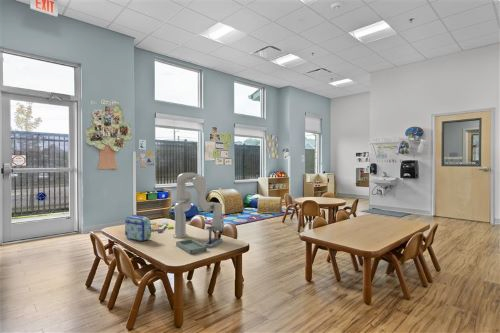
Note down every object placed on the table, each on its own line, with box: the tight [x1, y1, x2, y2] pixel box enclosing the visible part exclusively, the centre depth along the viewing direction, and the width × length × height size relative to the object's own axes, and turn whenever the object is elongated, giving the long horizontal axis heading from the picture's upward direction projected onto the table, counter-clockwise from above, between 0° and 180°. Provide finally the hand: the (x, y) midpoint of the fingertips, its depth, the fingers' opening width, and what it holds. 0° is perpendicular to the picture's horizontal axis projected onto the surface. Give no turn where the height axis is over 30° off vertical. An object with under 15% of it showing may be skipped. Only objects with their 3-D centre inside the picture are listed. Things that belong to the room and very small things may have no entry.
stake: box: [206, 225, 214, 245], centre depth 226 cm, size 2×6×16 cm, turn 128°
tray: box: [175, 238, 207, 255], centre depth 219 cm, size 26×13×4 cm, turn 38°
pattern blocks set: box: [151, 222, 174, 234], centre depth 281 cm, size 38×34×3 cm
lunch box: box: [124, 214, 152, 242], centre depth 244 cm, size 26×11×21 cm, turn 58°
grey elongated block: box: [201, 231, 223, 249], centre depth 230 cm, size 21×8×7 cm, turn 158°
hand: (217, 238), depth 238 cm, fingers closed on grey elongated block, 3 cm apart
